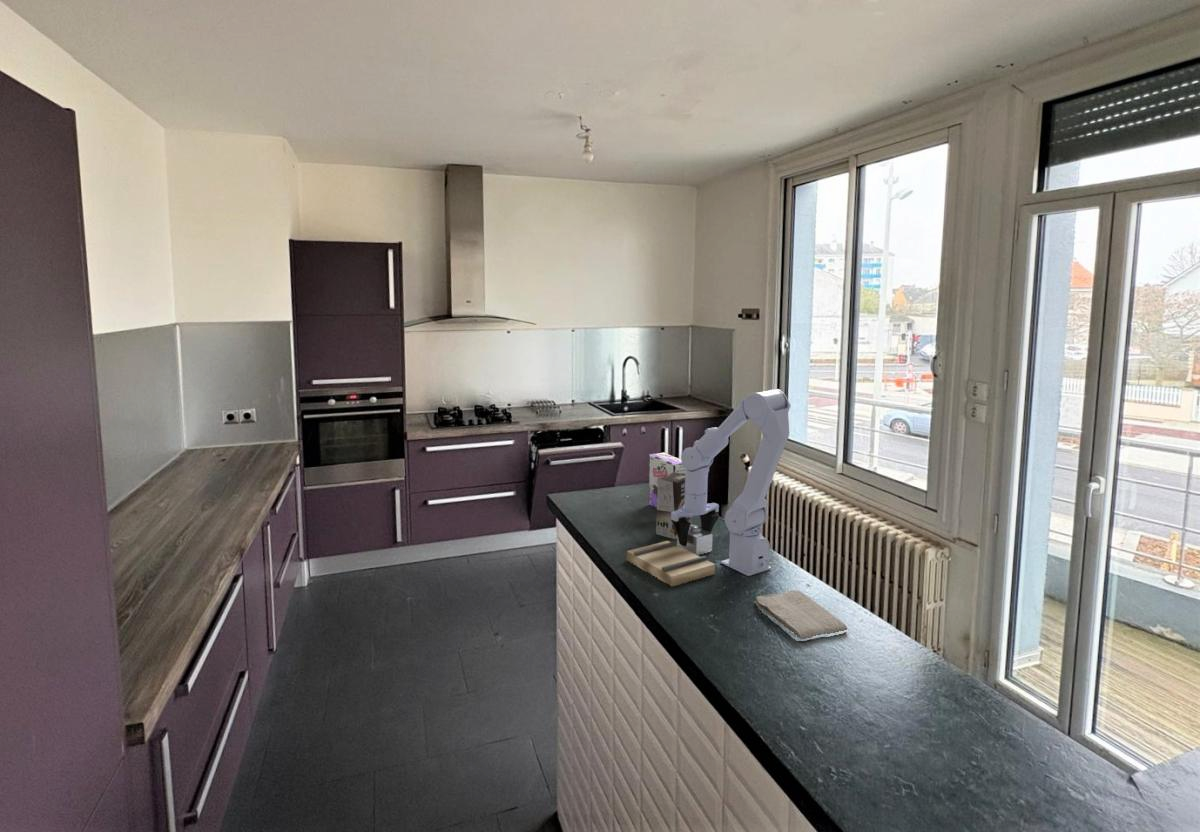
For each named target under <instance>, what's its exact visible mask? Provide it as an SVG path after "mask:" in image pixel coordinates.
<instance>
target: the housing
mask: <svg viewBox="0 0 1200 832" xmlns="http://www.w3.org/2000/svg"><path fill="white" fill-rule="evenodd" d="M713 535H714V534H713V533H712V532H711V533H710V532H708V531H705V530H703V529H701V525H696V524H691V525H690V527H689V531H688V539H687V546H682V545H680V544H679V539H678V535H677V538H676V542H677V546H679V547H681V548H683V549H685V550H687V551H689V552H692V553H694V554H696V555H698V556H700V554H701V555H704V553H705V554H708V552H709V553H712V552H713V538H714V537H713ZM711 551H712V552H711Z"/></svg>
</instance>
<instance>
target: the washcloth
mask: <svg viewBox="0 0 1200 832" xmlns="http://www.w3.org/2000/svg"><path fill="white" fill-rule="evenodd" d="M755 599H756V600H754V601H753V603H755V604H756V605H757V606H758V607H760V608H761V609H763V610H764V611H766V612H767V613H768V614H770V615H771V616H772V617H774V618H775V619H776V620H777V621H778V622H779V623H781V624H783V625H784V627H786V628H788V629H789V630H790V631H792V632H794V634H795V635H797V637H799V638H800V639H806V638H811V637H813V636H816V635H821V634H826V633H827V634H830V633H835V632H839V631H844V630H847V629H848V627H847V626H846V623H845V622H843V621H841V620H840V619H839V618H837V617H836V616H835V615H833V614H832V613H831V612H829V611H828V610H827V609H825V608H824V607H822V606H821V604H818V602H816V601H814V600H813V599H812V598H810V597H809V596H808V595H806V594H805V593H804V592H802V591H800V590H797V589H796V590H790V591H788V592H783V593H769V594H765V595H758V596H755ZM755 604H754V605H755ZM756 605H755V606H756ZM757 606H756V607H757Z"/></svg>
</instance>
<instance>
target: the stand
mask: <svg viewBox="0 0 1200 832" xmlns="http://www.w3.org/2000/svg"><path fill="white" fill-rule="evenodd" d="M626 561H627V562H628V561H629V562H628V563H631V564H632V563H633V564H632V565H634V566H635V565H636V567H637V568H638V569H641V570H642V571H644V572H645V573H647V572H648V573H647V574H649V573H650V574H649V575H651V576H653V577H654V576H655V578H656V577H657V579H658V580H659V581H660V582H661V581H662V582H663V583H665V584H666V583H667V585H668V584H669V586H670V587H672V586H673V587H676V586H679V585H682V583H683V584H686V583H689V581H690V582H693V581H696V580H700V579H703V578H706V576H707V577H710V576H713V575H716V573H715V572H716V564H715V563H713V562H712V561H709V559H707V556H705V555H703V556H700V555H696V554H694V553H692V552H689V551H687V550H685V549H683V548H681V547H679V546H677V541H672V542H671V541H669V540H665V541H661V542H658V543H652V544H650V545H646V546H641V547H638V548H633V549H629V550H626ZM692 580H693V581H692Z"/></svg>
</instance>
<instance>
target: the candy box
mask: <svg viewBox="0 0 1200 832" xmlns="http://www.w3.org/2000/svg"><path fill="white" fill-rule="evenodd" d="M648 455H649V457H648V458H649V464H648V465H649V467H648V473H649V474H648V505H649V506H650V505H651V507H652V506H653V507H652V508H654V507H655V509H656V510H657V492H658V478H661V477H664V476H666V475H669V474H671V473H674V472H675V473H682V474H685V470H686V468H685V467H684V466H683V464H682V461H681V458H678V457H675V456H674V455H671V454H668V453H667V452H665V451H664V452H657V453H651V454H650V453H649V454H648Z"/></svg>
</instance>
